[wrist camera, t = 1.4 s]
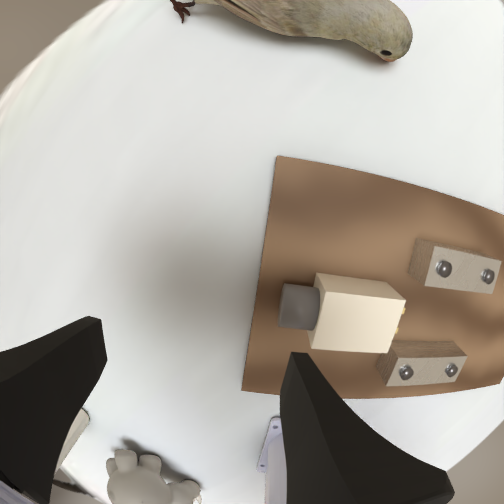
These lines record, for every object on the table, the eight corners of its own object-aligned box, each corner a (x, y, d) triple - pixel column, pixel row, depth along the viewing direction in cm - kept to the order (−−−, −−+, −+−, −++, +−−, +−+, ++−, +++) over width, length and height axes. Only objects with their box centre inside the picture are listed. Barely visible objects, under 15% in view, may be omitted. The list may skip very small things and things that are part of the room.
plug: (275, 319, 19) (277, 345, 16) (285, 268, 18) (288, 286, 15) (381, 329, 19) (397, 353, 16) (396, 283, 18) (416, 301, 15)
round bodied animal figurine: (180, 474, 30) (189, 526, 22) (99, 456, 24) (100, 516, 17) (210, 460, 28) (223, 519, 21) (118, 441, 22) (121, 512, 15)
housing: (442, 365, 19) (456, 383, 17) (375, 367, 19) (387, 389, 17) (482, 252, 17) (504, 262, 14) (415, 237, 17) (437, 247, 14)
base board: (495, 379, 21) (499, 383, 20) (242, 382, 21) (241, 390, 20) (546, 235, 17) (552, 237, 16) (276, 156, 17) (277, 155, 16)
